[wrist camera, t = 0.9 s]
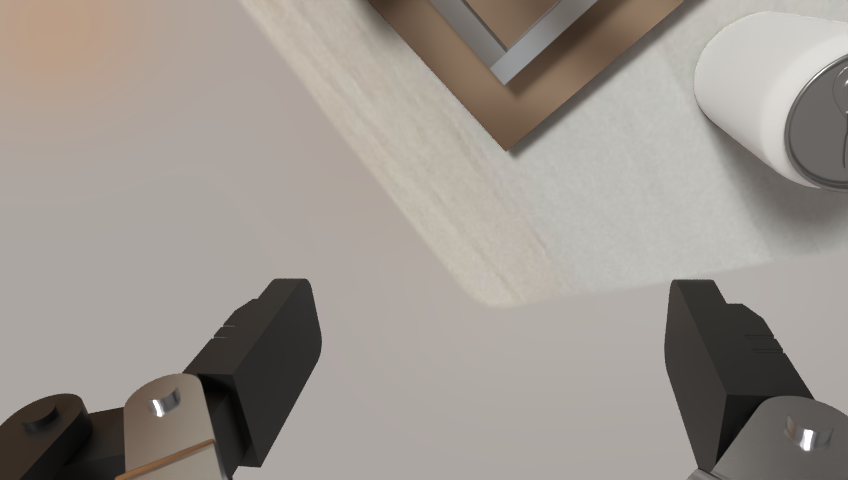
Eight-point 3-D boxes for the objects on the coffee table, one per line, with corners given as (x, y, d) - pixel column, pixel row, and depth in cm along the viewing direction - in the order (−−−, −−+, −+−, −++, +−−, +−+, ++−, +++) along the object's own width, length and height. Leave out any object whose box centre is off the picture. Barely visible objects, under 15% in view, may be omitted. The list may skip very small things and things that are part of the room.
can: (813, -7, 30) (974, 5, 19) (820, 111, 32) (967, 180, 22) (683, 32, 32) (765, 63, 21) (698, 141, 34) (779, 219, 23)
